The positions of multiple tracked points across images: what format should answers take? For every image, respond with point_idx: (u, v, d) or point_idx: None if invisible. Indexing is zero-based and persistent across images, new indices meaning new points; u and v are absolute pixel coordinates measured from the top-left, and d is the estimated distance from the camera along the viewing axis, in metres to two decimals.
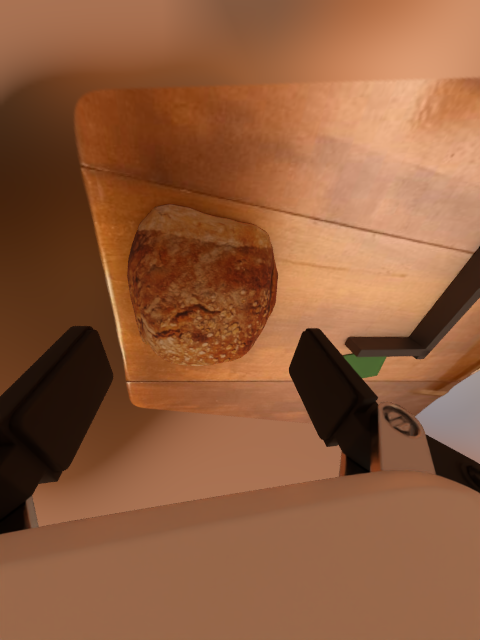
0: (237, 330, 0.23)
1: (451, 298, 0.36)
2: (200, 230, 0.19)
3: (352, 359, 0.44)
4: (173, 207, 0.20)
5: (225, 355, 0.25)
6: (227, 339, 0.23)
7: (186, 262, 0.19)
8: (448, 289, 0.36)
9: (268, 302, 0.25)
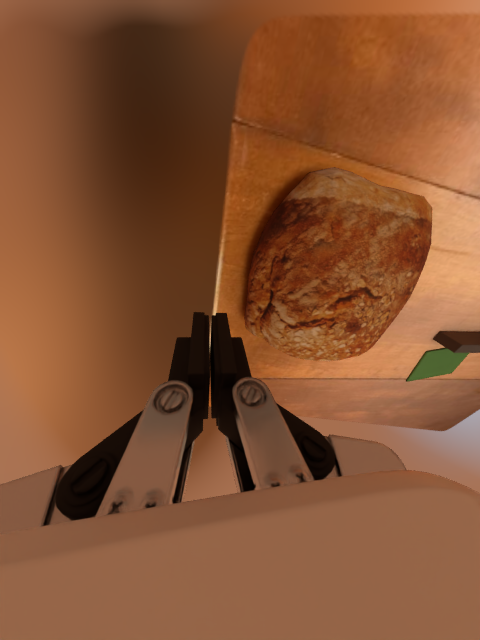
0: (384, 320, 0.20)
1: None
2: (378, 197, 0.16)
3: (434, 355, 0.41)
4: (341, 170, 0.16)
5: (360, 349, 0.22)
6: (372, 331, 0.20)
7: (362, 236, 0.16)
8: None
9: None
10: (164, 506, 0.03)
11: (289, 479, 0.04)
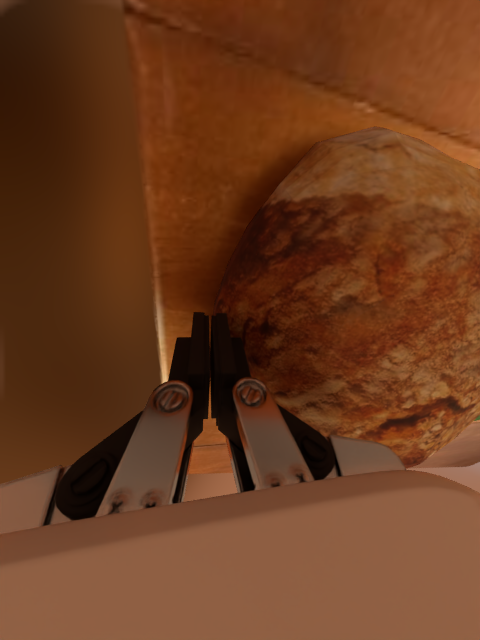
0: None
1: None
2: None
3: None
4: (393, 132, 0.07)
5: None
6: None
7: (452, 290, 0.06)
8: None
9: None
10: (164, 506, 0.03)
11: (289, 479, 0.04)
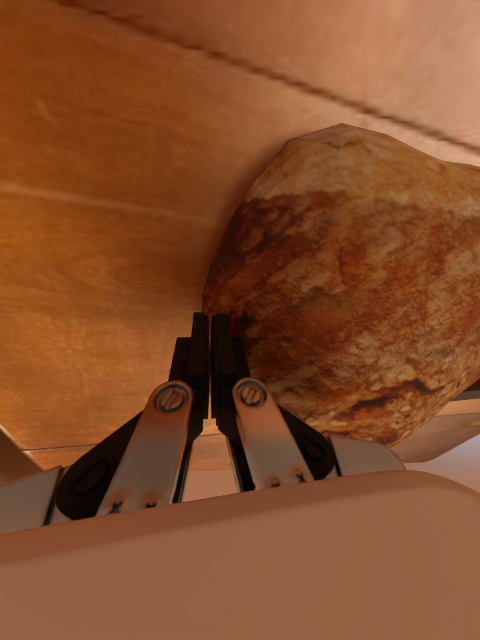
0: None
1: None
2: (449, 185, 0.07)
3: None
4: (358, 128, 0.07)
5: None
6: (417, 428, 0.11)
7: (412, 279, 0.07)
8: None
9: None
10: (164, 506, 0.03)
11: (289, 479, 0.04)
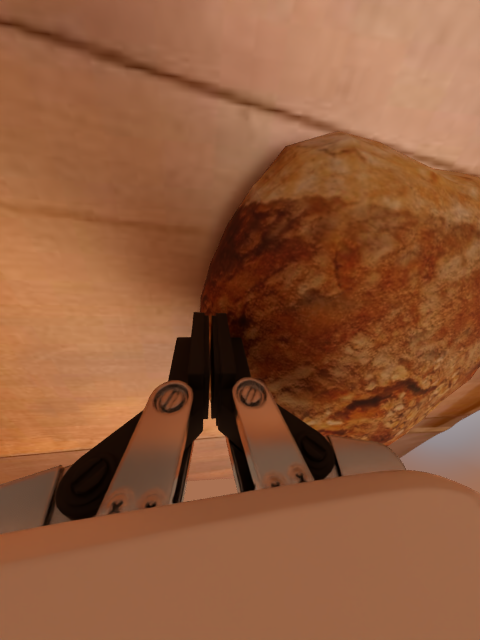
0: None
1: None
2: (440, 192, 0.07)
3: None
4: (353, 136, 0.07)
5: None
6: (411, 427, 0.11)
7: (404, 282, 0.07)
8: None
9: None
10: (164, 506, 0.03)
11: (289, 479, 0.04)
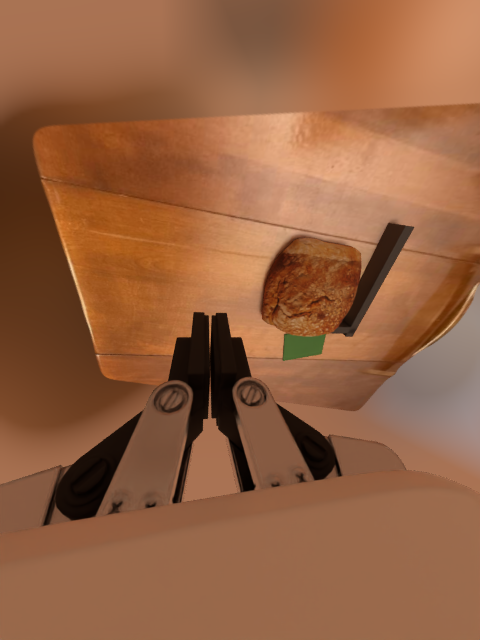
0: (339, 312, 0.37)
1: (365, 282, 0.43)
2: (329, 253, 0.33)
3: (293, 338, 0.51)
4: (311, 239, 0.34)
5: (328, 329, 0.39)
6: (333, 318, 0.37)
7: (321, 271, 0.33)
8: (363, 275, 0.43)
9: (355, 294, 0.38)
10: (164, 506, 0.03)
11: (289, 479, 0.04)
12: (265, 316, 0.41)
